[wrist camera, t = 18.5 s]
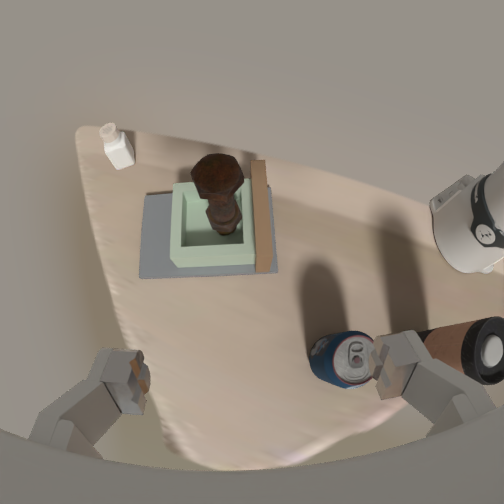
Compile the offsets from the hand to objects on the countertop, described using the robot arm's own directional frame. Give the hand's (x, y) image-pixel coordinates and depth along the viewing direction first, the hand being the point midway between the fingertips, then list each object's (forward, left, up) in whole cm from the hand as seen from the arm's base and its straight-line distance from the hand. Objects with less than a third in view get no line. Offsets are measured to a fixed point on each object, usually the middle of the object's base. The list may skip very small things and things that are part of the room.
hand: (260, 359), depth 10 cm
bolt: (-9, -16, -32) cm, 37 cm away
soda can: (-8, +9, -35) cm, 36 cm away
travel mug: (-18, +19, -35) cm, 43 cm away
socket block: (-8, -17, -33) cm, 38 cm away
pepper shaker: (-4, -40, -35) cm, 53 cm away
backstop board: (-6, -18, -34) cm, 39 cm away
